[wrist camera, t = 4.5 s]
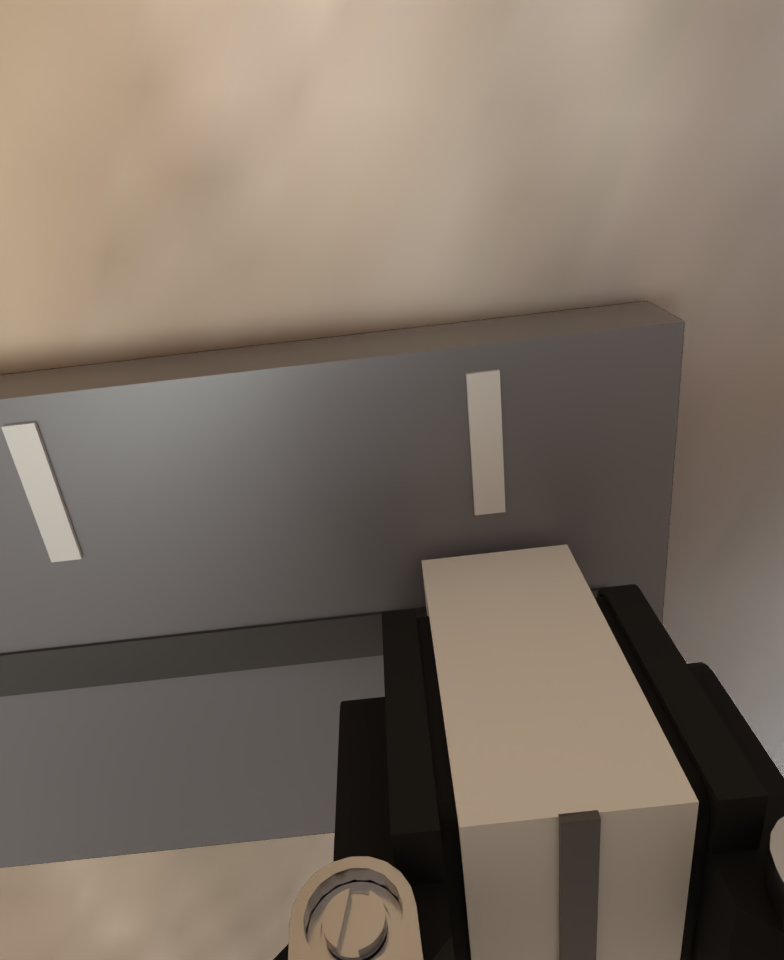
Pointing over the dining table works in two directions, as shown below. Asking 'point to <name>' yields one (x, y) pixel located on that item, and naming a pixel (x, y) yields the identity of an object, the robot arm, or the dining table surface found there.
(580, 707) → the fader knob
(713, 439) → the dining table surface
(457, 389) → the fader board
